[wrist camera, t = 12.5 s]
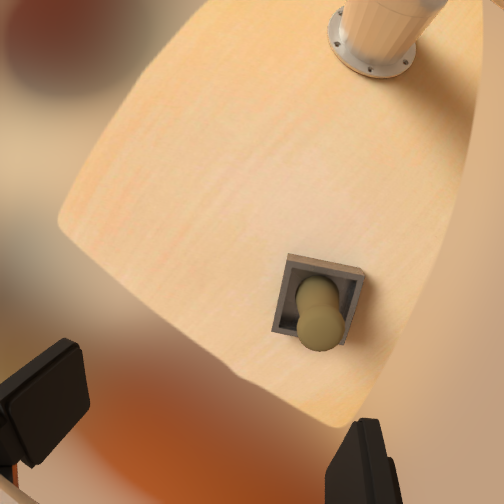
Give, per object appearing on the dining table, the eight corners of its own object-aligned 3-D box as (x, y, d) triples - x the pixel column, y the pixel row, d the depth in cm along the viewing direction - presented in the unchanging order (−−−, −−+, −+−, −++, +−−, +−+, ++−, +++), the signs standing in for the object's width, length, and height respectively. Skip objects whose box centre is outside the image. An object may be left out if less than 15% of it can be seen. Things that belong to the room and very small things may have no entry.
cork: (304, 269, 40) (305, 300, 30) (346, 284, 40) (360, 319, 29) (288, 309, 42) (283, 350, 31) (329, 323, 41) (335, 366, 31)
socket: (288, 253, 41) (286, 259, 38) (360, 268, 40) (364, 275, 37) (273, 320, 44) (271, 331, 40) (341, 333, 43) (343, 345, 39)
